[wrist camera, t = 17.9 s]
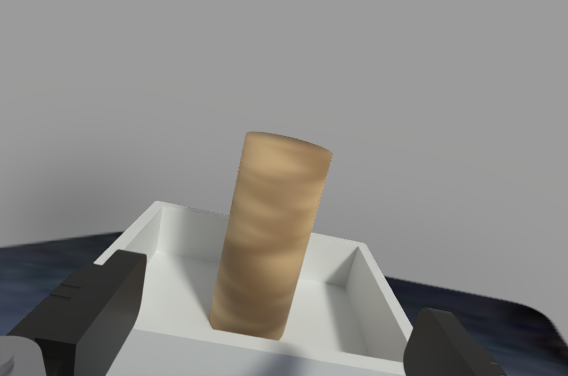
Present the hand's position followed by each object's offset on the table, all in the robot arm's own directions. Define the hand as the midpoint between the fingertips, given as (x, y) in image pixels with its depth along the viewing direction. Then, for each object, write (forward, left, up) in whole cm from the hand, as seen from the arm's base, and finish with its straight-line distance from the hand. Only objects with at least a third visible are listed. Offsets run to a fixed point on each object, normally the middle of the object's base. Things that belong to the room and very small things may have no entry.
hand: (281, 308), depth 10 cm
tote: (0, +11, -10) cm, 15 cm away
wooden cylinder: (0, +11, -9) cm, 14 cm away
